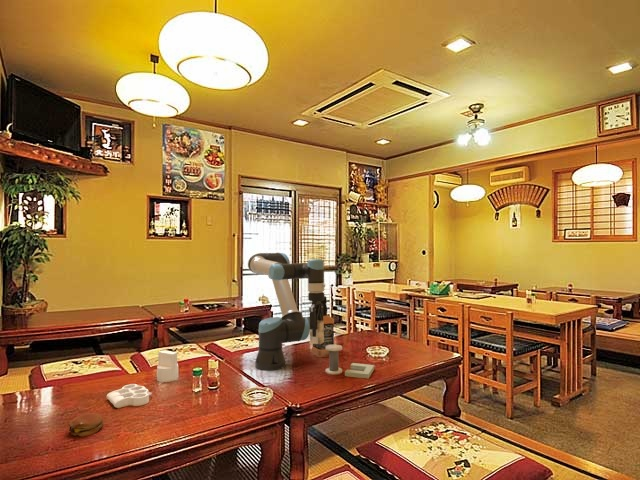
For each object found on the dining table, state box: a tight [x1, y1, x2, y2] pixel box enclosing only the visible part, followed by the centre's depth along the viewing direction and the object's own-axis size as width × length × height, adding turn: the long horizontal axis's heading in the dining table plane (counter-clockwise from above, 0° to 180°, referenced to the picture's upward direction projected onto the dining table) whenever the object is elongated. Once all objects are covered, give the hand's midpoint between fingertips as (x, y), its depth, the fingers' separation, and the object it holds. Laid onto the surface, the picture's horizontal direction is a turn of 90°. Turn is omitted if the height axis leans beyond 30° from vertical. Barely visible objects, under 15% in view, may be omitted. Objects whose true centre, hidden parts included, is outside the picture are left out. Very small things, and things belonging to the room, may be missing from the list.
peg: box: [309, 320, 324, 345], centre depth 183 cm, size 5×5×10 cm
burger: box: [68, 412, 104, 438], centre depth 129 cm, size 10×9×5 cm
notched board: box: [344, 362, 375, 380], centre depth 186 cm, size 11×14×2 cm
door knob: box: [325, 344, 343, 376], centre depth 187 cm, size 8×8×12 cm
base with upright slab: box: [156, 350, 179, 383], centre depth 178 cm, size 9×9×12 cm
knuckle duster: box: [106, 383, 153, 409], centre depth 155 cm, size 3×18×15 cm
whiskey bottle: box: [311, 295, 335, 359], centre depth 216 cm, size 10×10×32 cm
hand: (317, 342), depth 182 cm, fingers closed on peg, 5 cm apart
